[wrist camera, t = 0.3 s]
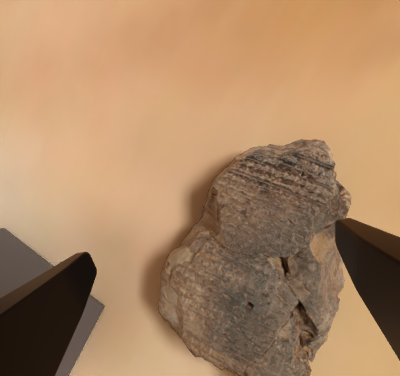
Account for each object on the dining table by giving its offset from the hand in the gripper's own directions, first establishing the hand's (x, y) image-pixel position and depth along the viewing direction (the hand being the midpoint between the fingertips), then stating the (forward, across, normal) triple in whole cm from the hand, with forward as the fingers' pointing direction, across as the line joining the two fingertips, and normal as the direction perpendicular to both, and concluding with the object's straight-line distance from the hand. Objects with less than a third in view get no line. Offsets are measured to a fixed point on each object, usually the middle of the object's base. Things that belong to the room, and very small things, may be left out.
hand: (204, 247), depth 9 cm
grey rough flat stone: (+12, -3, +9) cm, 15 cm away
